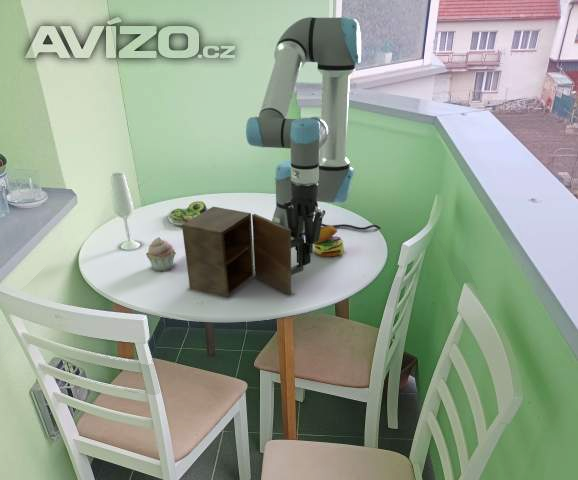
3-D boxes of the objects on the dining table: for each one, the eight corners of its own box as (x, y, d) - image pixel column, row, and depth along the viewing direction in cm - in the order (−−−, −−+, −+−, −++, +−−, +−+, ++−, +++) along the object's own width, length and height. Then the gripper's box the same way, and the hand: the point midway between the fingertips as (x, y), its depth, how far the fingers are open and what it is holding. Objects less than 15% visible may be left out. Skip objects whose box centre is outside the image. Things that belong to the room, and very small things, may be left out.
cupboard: (254, 276, 176) (251, 213, 164) (227, 298, 165) (221, 232, 153) (218, 268, 181) (213, 206, 169) (189, 289, 169) (181, 224, 157)
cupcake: (182, 268, 181) (179, 238, 175) (155, 276, 176) (150, 245, 170) (170, 258, 187) (165, 229, 181) (143, 265, 183) (138, 236, 177)
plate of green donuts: (218, 228, 207) (217, 216, 205) (168, 232, 205) (167, 219, 202) (214, 210, 223) (213, 198, 220) (168, 213, 220) (166, 201, 217)
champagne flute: (120, 250, 192) (105, 178, 178) (120, 242, 198) (106, 172, 183) (140, 248, 193) (127, 177, 179) (140, 241, 199) (128, 170, 184)
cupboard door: (274, 269, 179) (272, 208, 168) (308, 286, 170) (309, 223, 158) (254, 276, 175) (251, 214, 164) (288, 295, 166) (288, 230, 154)
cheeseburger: (340, 260, 184) (334, 231, 179) (310, 263, 189) (303, 234, 183) (348, 247, 192) (342, 219, 186) (319, 250, 196) (312, 223, 191)
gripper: (275, 179, 155) (276, 260, 169) (317, 191, 147) (315, 274, 161) (292, 173, 160) (292, 252, 174) (334, 184, 152) (331, 265, 166)
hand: (303, 262), depth 168 cm, fingers closed on cupboard door, 2 cm apart
